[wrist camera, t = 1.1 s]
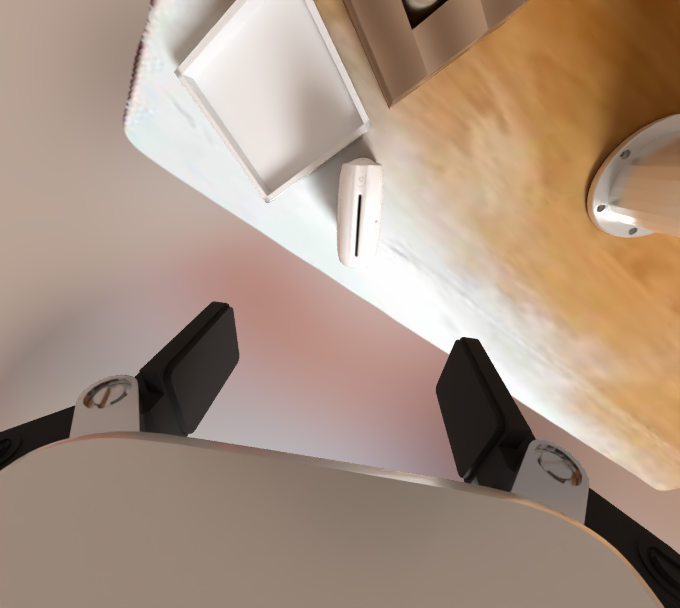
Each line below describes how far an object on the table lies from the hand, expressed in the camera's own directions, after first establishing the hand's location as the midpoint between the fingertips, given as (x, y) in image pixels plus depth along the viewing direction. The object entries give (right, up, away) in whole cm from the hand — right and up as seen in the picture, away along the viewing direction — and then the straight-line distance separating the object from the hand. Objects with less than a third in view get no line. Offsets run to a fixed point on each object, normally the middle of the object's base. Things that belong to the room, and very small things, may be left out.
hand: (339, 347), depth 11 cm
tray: (-7, +25, +18) cm, 31 cm away
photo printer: (+3, +15, +23) cm, 28 cm away
